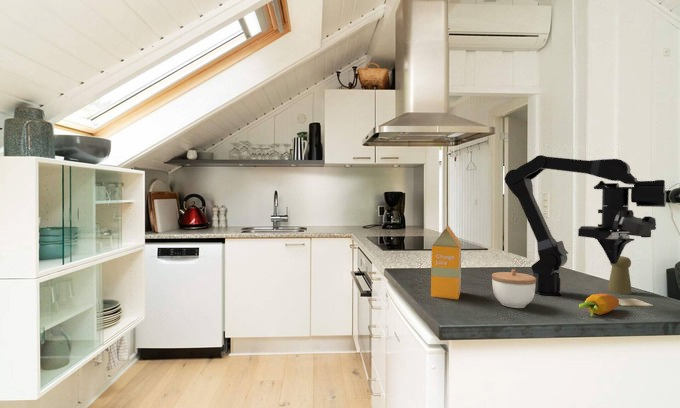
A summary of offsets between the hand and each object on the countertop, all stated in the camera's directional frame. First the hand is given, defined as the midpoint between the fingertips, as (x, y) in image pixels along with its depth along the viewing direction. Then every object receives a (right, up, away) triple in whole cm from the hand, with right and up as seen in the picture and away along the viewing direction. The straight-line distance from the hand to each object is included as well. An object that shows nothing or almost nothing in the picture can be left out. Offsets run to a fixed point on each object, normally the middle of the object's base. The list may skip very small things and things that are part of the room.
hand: (613, 263), depth 100 cm
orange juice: (-43, -11, +9) cm, 45 cm away
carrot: (-2, -9, -3) cm, 10 cm away
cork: (+12, -11, +14) cm, 22 cm away
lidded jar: (-28, -11, -1) cm, 30 cm away
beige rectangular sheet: (+6, -11, +2) cm, 13 cm away
